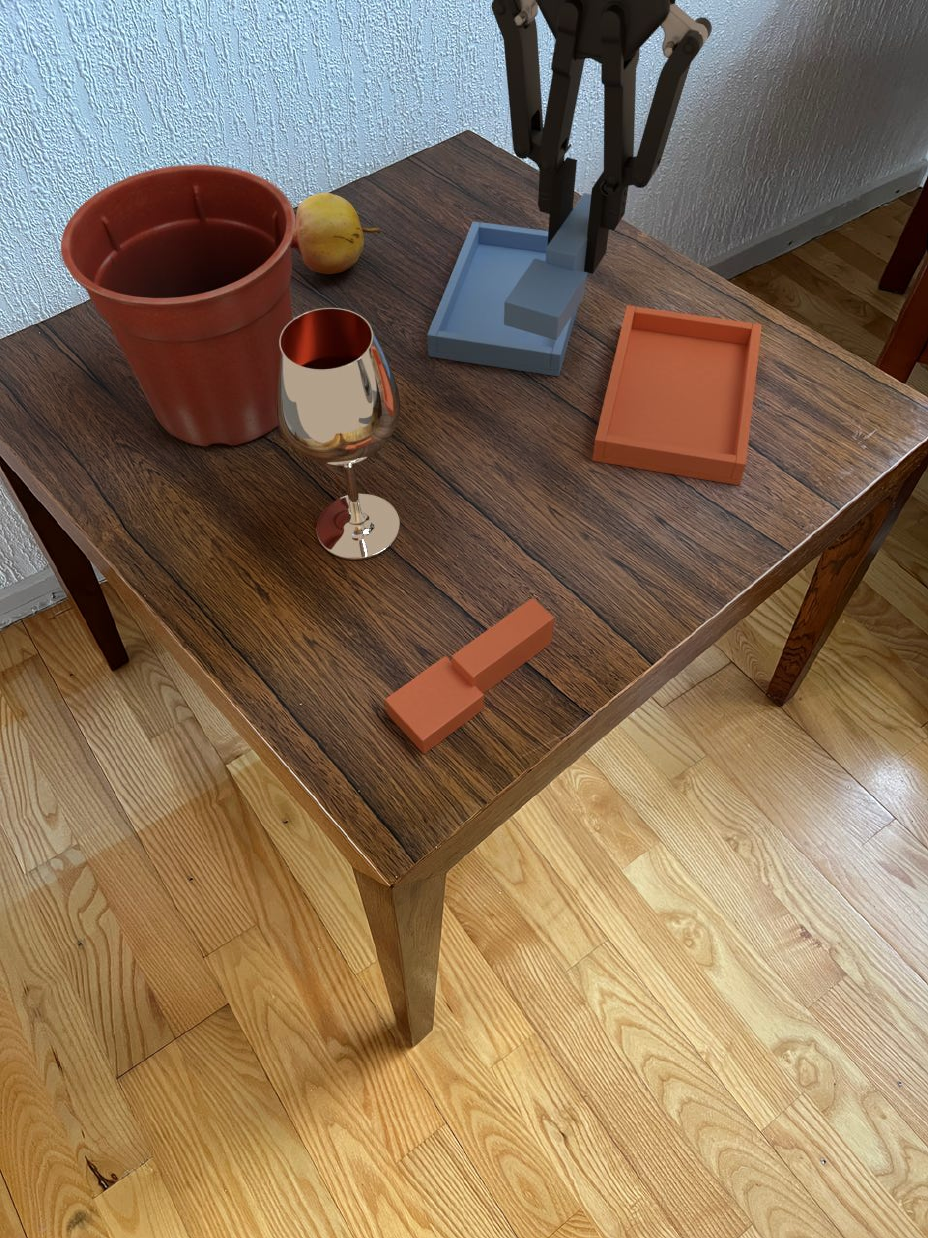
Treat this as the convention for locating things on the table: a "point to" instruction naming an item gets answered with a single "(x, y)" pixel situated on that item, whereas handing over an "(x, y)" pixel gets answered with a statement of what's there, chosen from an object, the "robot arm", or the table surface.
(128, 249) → the flower pot
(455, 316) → the blue tray
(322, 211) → the fruit
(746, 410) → the red tray
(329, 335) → the wineglass
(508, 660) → the red offset step block
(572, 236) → the blue stepped block
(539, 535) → the table surface
